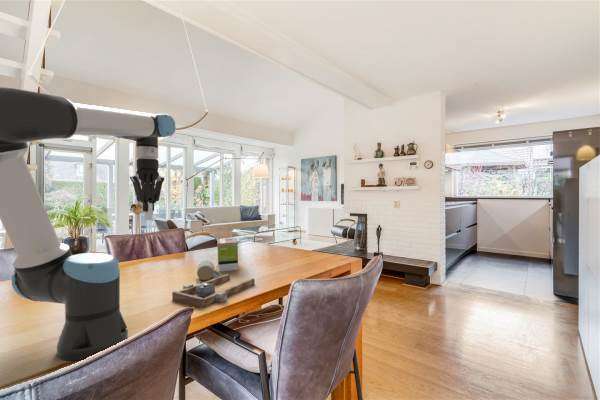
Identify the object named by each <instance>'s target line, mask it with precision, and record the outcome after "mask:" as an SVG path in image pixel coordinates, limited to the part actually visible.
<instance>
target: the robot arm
mask: <svg viewBox="0 0 600 400" xmlns="http://www.w3.org/2000/svg"><path fill="white" fill-rule="evenodd" d="M176 130H177V129H176V122H175V119H174V117H172V116H171V115H170V114H168V113H155V114H154V113H147V112H141V111H132V110H125V109H118V108H110V107H104V106H98V105H91V104H90V105H89V104H85V103H84V104H82V103H76V102H72V101H71V100H69V99H68V98H66V97H63V96H59V95H52V94H46V93H41V92H36V91H31V90H26V89H25V90H24V89H19V88H13V87H0V222H1V224H2V226H3V228H4V231H5V232H6V234H7V237H8V238H9V240H10V242H11V245H12V247H13V249H14V250H15V252H16V255H17V256H16V258H15V260H14V261H13V264H12V265H13V267H14V270H13V272H14V273H13V275H11V285H12V288H13V291H14V292H15V293H16V294H17V295H18V296H19V297H20V298H24V299H26V300H30V301H33V302H41V303H44V302H45V303H54V304H61V305H62V304H63V305H64V313H65V318H64V319H65V322H64V324H63V326H62V330H61V333H60V336H59V338H58V341H57V345H56V355H57V357H58V358H59V359H61V360H63V361H83V360H86V359H85V358H87V357H89V356H92V355H94V354H96V353H98V352H100V351H103V350H105V349H107V348H109V347H111V346H113V345H116V344H117V343H119V342H121V341H123V340H125V339H127V340H128V338H129V332H128V331H129V330H128V326H127V324H126V321H125V319H124V317H123V315H122V312H121V309H120V307H121V306H120V302H121V301H120V298H121V297H120V296H121V295H120V294H121V293H120V290H121V289H120V286H121V284H120V283H121V282H120V279H121V275H120V274H121V273H120V272H121V270H120V268H119V267H120V266H119V260H118V258H117V257H115V256H114V255H111V254H109V253H102V252H95V253H94V252H84V253H77V254H73V253H72V250H71V248H70V246H69V244H66V243H62V242H60V239H59V238H58V235H57V233H56V231H55V228H54V226H53V223H52V221H51V219H50V216H49V213H48V211H47V209H46V206H45V203H44V202H43V199H42V197H41V194H40V192H39V189H38V187H37V185H36V183H35V180H34V177H33V176H32V173H31V170H30V168H29V166H28V164H27V161H26V158H25V155H26V153H27V152H28V150H29V149H30V147H29V145H28V143H30V142H36V141H43V140H52V139H70V138H72V137H73V136H75V135H76V136H80V135H81V136H108V137H109V136H110V137H111V136H112V137H115V138H117V139H123V140H128V141H134V142H135V144H136V145H135V148H136V149H135V150H136V152H135V154H136V155H135V156H136V158H137V159H136V172H135V174H134V175H132V176H131V175H130V177H129V179H130V181H131V182H132V186H133V189H134V193H135V197H136V201H137V202H139V203H141V204H142V212H144V220H145V221H153V218H154V217H153V212H154V211H155V203H157V202H159V201H160V196H161V191H162V186H163V182H164V181H165V177H163V176H160V173H159V171H158V170H159V168H160V167H159V160H158V159H159V138H166V137H172V136H173V135H174V134H175V132H176Z"/></svg>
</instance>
